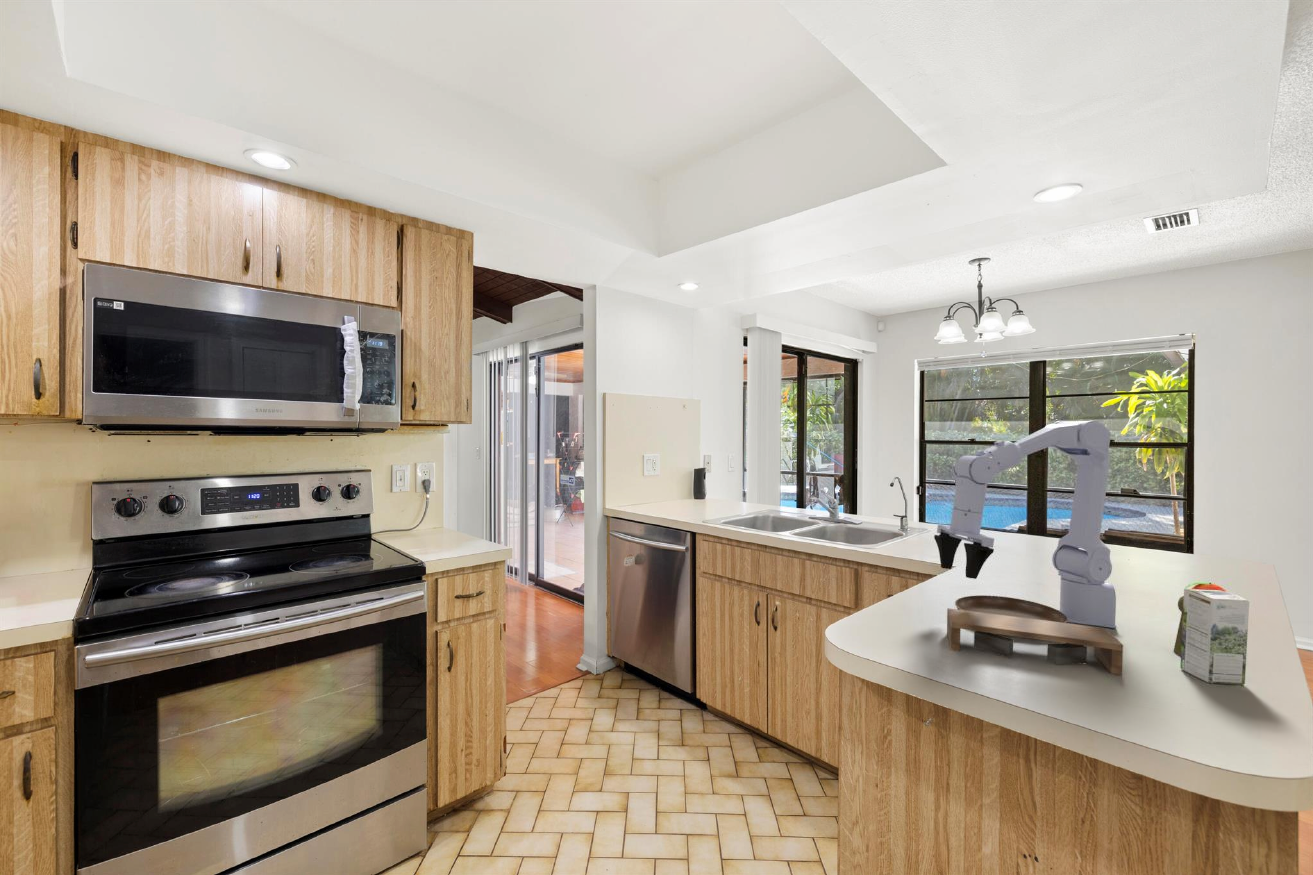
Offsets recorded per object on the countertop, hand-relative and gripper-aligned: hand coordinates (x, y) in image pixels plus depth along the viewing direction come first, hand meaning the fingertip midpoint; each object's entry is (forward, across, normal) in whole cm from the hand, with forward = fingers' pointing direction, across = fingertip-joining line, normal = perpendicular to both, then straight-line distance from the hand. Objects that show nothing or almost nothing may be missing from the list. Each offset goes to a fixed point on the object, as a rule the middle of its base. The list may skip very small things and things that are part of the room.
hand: (958, 573), depth 121 cm
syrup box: (+7, +31, +26) cm, 41 cm away
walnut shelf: (+10, +17, +3) cm, 20 cm away
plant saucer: (+10, +2, +13) cm, 16 cm away
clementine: (+2, +2, +64) cm, 64 cm away
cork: (+6, +23, +33) cm, 41 cm away
